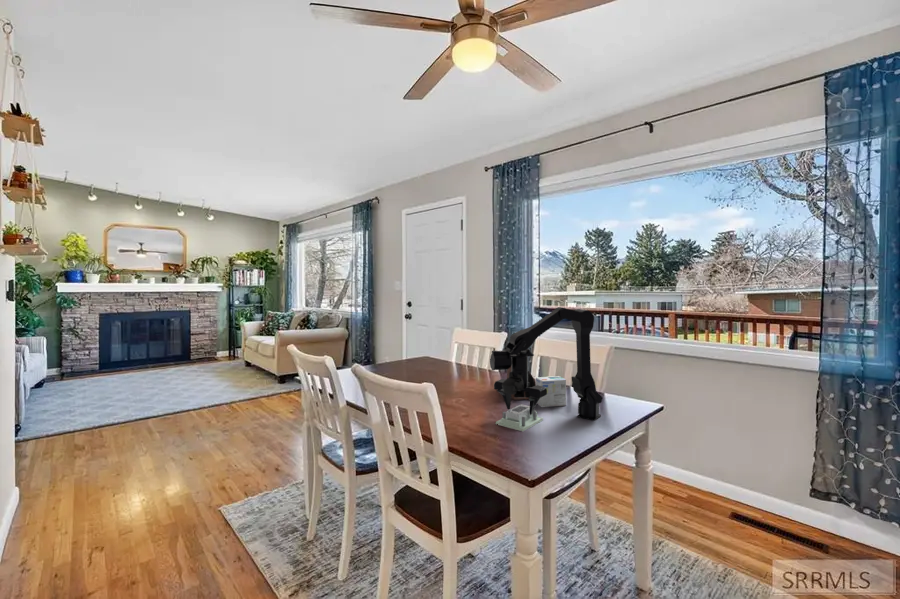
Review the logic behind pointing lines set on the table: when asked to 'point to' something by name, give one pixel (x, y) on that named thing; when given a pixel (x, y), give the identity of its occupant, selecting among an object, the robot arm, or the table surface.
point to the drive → (519, 413)
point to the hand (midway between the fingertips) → (519, 411)
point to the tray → (517, 425)
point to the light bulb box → (552, 391)
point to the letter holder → (521, 394)
